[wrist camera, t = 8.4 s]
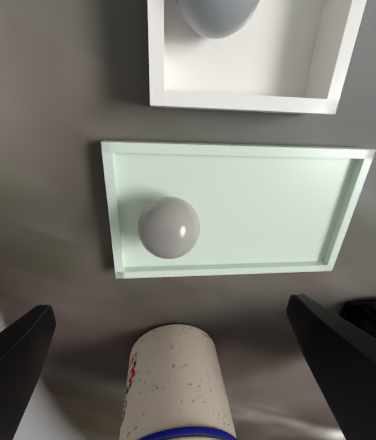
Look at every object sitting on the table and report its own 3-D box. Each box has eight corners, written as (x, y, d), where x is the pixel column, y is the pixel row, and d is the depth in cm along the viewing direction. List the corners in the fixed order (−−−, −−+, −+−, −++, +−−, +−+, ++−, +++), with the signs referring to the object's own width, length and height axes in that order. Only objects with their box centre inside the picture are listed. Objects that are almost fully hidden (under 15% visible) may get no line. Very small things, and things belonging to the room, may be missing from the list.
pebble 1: (194, 239, 18) (202, 271, 14) (141, 240, 17) (136, 273, 14) (197, 188, 16) (207, 210, 12) (138, 188, 16) (132, 210, 12)
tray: (322, 262, 21) (332, 270, 20) (118, 269, 19) (115, 278, 18) (361, 147, 17) (375, 149, 16) (105, 139, 15) (100, 141, 14)
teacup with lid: (114, 334, 22) (70, 540, 11) (207, 309, 22) (252, 493, 11) (151, 402, 27) (145, 587, 16) (227, 382, 27) (270, 555, 16)
